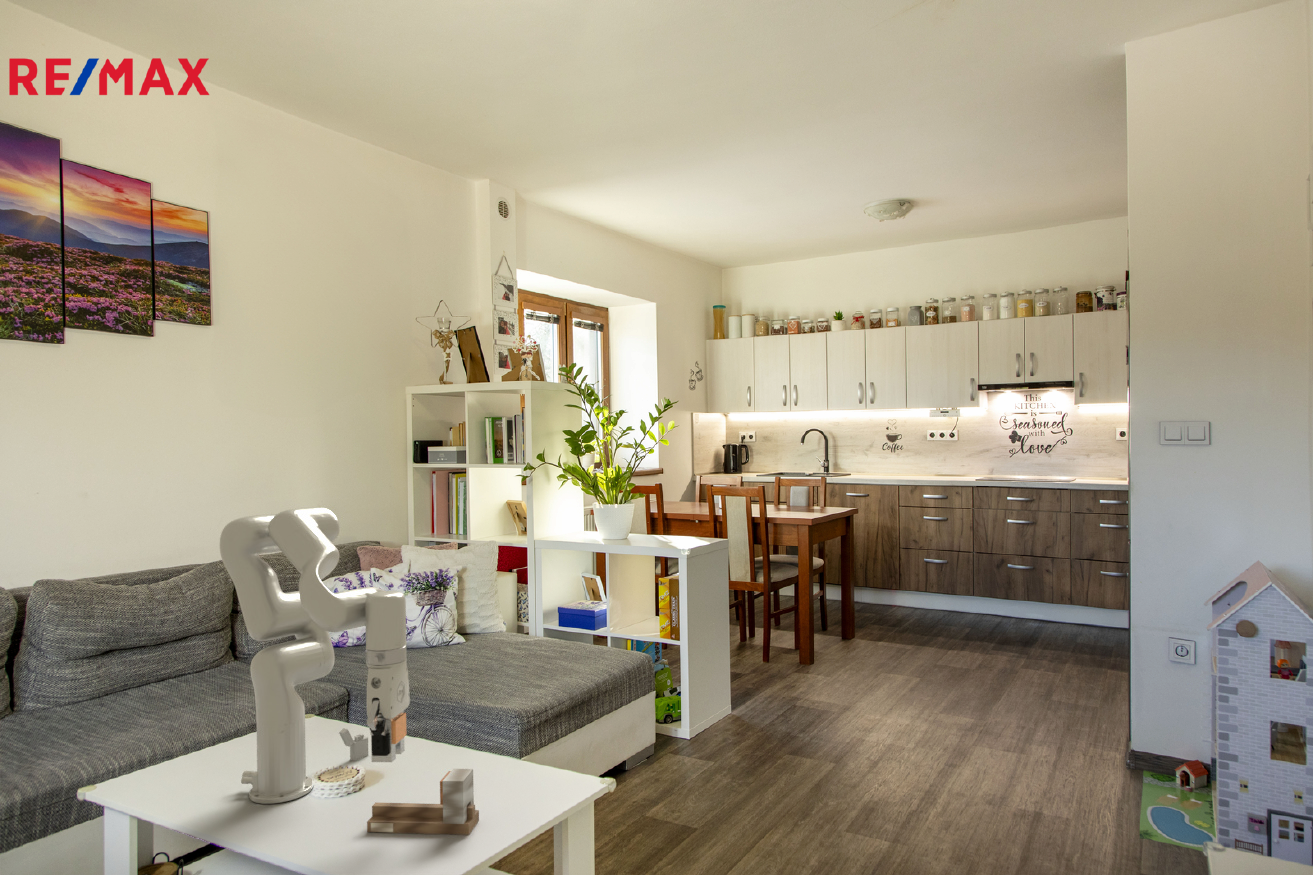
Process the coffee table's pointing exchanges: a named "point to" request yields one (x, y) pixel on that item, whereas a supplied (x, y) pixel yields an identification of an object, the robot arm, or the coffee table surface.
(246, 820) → the coffee table surface
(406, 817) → the rail
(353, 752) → the lighter
